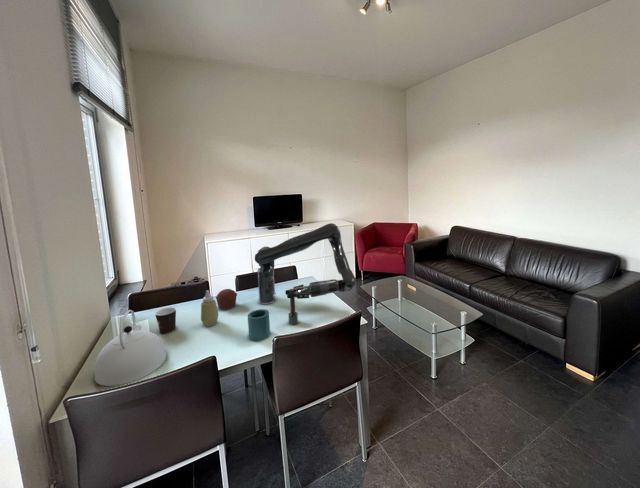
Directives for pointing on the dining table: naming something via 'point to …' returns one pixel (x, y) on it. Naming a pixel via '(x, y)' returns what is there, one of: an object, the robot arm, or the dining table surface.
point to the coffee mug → (166, 319)
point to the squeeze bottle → (209, 310)
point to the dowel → (292, 311)
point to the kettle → (129, 356)
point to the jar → (258, 325)
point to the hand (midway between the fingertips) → (286, 294)
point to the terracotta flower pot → (226, 299)
